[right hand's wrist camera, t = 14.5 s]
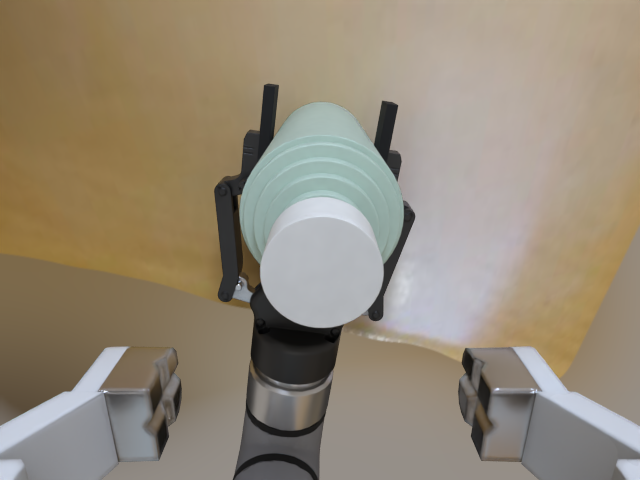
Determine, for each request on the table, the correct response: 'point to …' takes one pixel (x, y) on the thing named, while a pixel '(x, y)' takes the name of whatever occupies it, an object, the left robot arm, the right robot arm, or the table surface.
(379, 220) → the bottle
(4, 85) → the table surface
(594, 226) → the table surface
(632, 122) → the table surface
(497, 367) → the right robot arm
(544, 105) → the table surface
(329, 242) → the cap
